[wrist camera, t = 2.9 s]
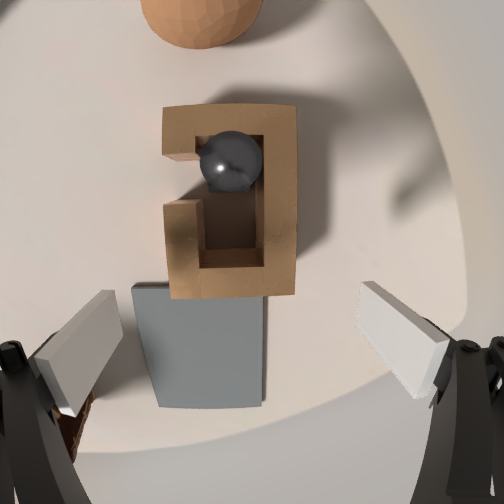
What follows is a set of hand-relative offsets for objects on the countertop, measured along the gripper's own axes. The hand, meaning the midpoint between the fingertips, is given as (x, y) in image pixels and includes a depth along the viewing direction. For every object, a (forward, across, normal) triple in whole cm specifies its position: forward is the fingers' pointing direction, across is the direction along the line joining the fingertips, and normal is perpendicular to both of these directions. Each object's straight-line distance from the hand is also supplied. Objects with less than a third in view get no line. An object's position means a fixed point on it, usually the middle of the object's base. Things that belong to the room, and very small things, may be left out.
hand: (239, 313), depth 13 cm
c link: (+9, 0, +5) cm, 10 cm away
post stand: (+9, 0, +7) cm, 11 cm away
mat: (+9, -3, -9) cm, 13 cm away
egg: (+9, -2, +20) cm, 22 cm away
